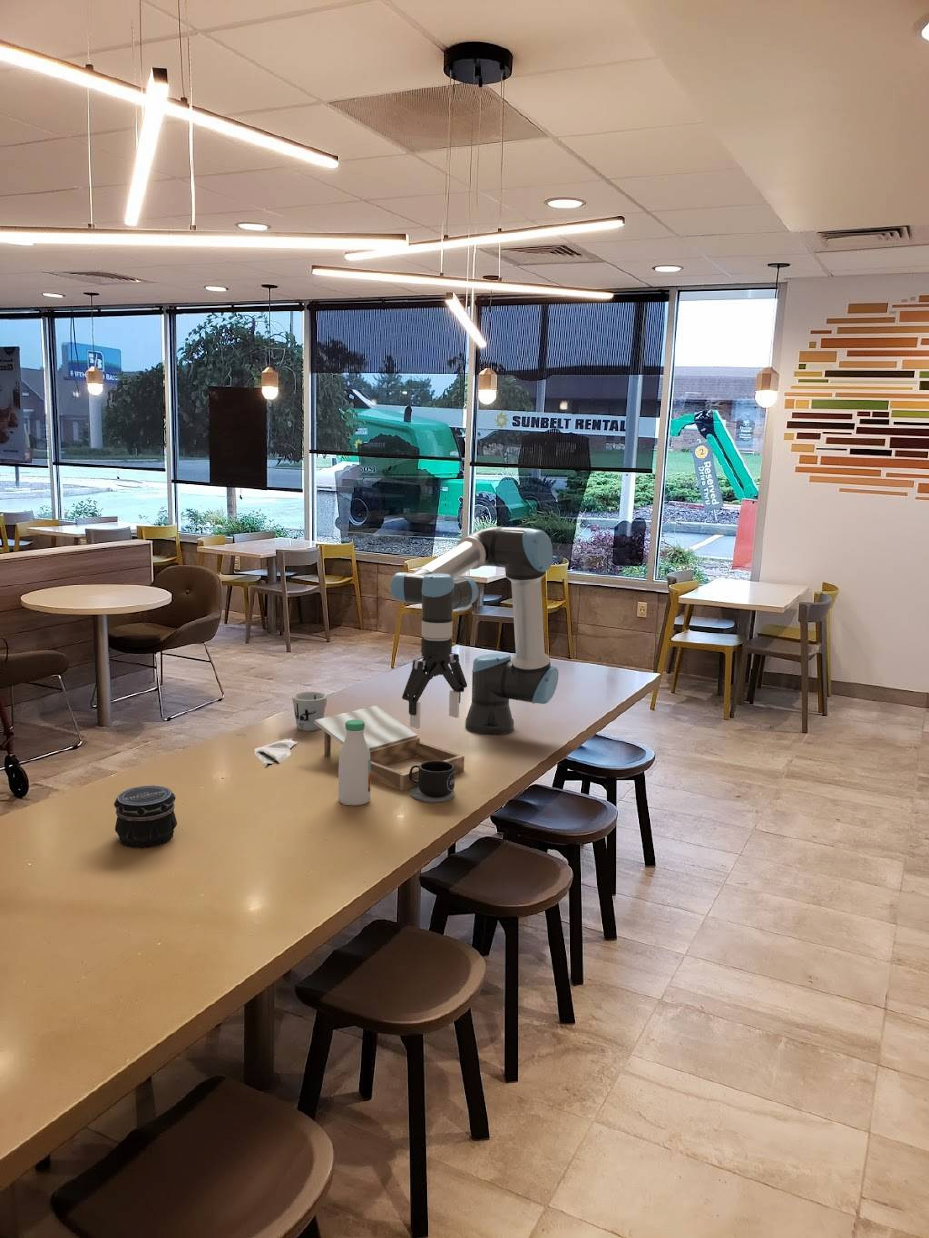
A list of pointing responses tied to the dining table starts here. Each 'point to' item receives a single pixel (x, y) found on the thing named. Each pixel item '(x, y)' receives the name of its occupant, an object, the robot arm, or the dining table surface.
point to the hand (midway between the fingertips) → (434, 721)
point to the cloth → (275, 751)
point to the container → (145, 816)
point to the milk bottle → (354, 766)
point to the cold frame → (386, 744)
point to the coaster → (422, 797)
